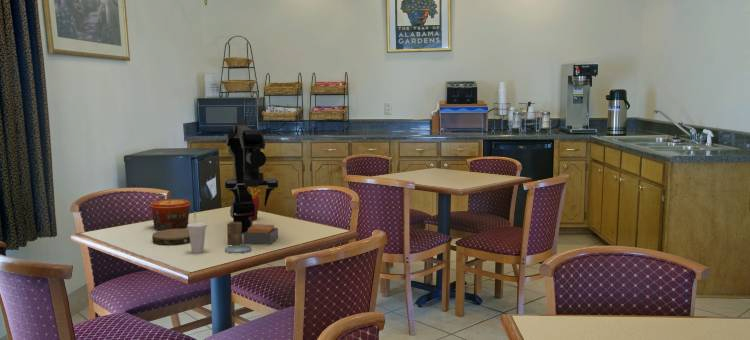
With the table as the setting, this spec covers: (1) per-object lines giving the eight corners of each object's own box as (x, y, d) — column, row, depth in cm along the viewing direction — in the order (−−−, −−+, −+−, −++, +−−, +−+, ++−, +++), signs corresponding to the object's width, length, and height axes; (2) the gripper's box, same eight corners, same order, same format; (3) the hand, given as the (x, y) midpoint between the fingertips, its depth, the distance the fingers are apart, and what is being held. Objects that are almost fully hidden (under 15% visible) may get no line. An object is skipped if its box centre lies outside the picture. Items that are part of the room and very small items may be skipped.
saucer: (221, 253, 199) (220, 250, 199) (230, 246, 208) (230, 244, 208) (246, 254, 198) (246, 251, 198) (254, 247, 207) (254, 245, 207)
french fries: (246, 218, 258) (246, 184, 256) (263, 219, 255) (262, 185, 254) (235, 221, 250) (234, 187, 248) (252, 223, 247) (251, 188, 245)
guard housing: (243, 243, 212) (243, 233, 212) (252, 237, 222) (252, 227, 221) (270, 244, 211) (270, 234, 210) (278, 238, 221) (277, 228, 220)
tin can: (196, 234, 227) (196, 227, 227) (198, 244, 212) (198, 236, 212) (153, 237, 222) (153, 230, 221) (151, 247, 207) (151, 239, 206)
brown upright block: (227, 245, 210) (227, 223, 209) (231, 242, 214) (231, 221, 213) (238, 246, 209) (237, 224, 208) (242, 243, 213) (241, 221, 212)
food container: (194, 230, 234) (194, 203, 233) (152, 233, 227) (151, 206, 226) (188, 222, 248) (187, 197, 247) (148, 225, 241) (147, 200, 240)
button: (247, 232, 213) (247, 228, 212) (254, 228, 220) (254, 224, 220) (268, 233, 212) (268, 229, 212) (273, 228, 219) (273, 224, 219)
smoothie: (190, 249, 203) (189, 210, 202) (209, 249, 204) (207, 210, 202) (186, 254, 197) (184, 214, 195) (205, 254, 198) (204, 213, 196)
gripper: (223, 167, 202) (224, 211, 204) (277, 166, 205) (278, 210, 207) (225, 163, 213) (226, 205, 215) (277, 163, 216) (278, 204, 218)
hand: (252, 206), depth 213 cm, fingers open, 9 cm apart
